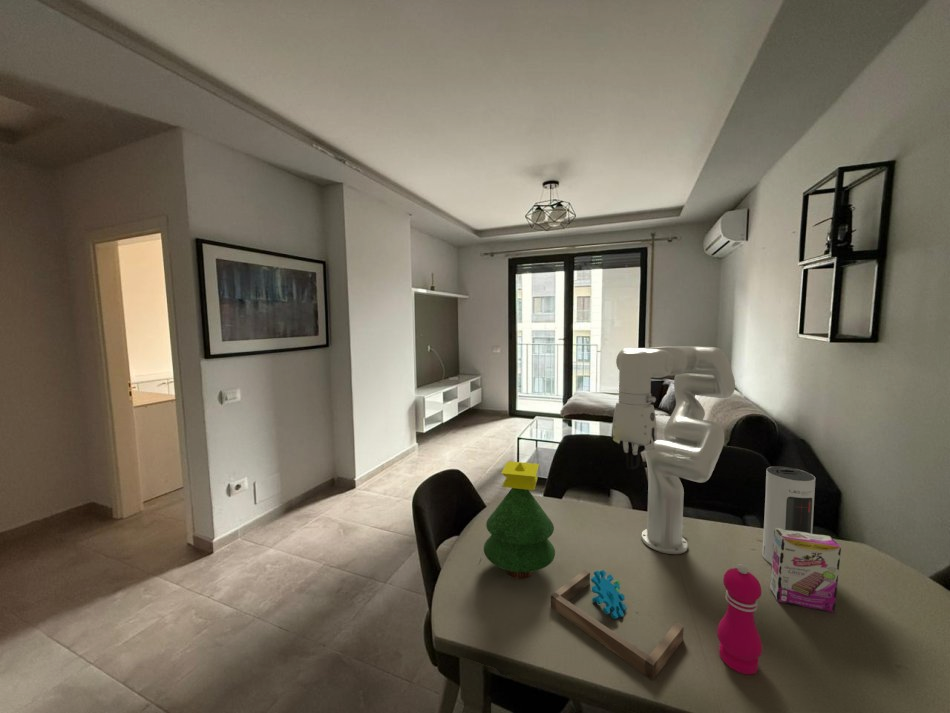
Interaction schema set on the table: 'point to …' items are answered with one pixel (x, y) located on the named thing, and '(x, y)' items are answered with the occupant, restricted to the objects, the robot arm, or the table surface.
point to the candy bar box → (805, 569)
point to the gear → (608, 594)
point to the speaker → (787, 504)
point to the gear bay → (610, 639)
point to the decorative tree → (519, 526)
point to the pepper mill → (740, 621)
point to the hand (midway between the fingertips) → (632, 467)
